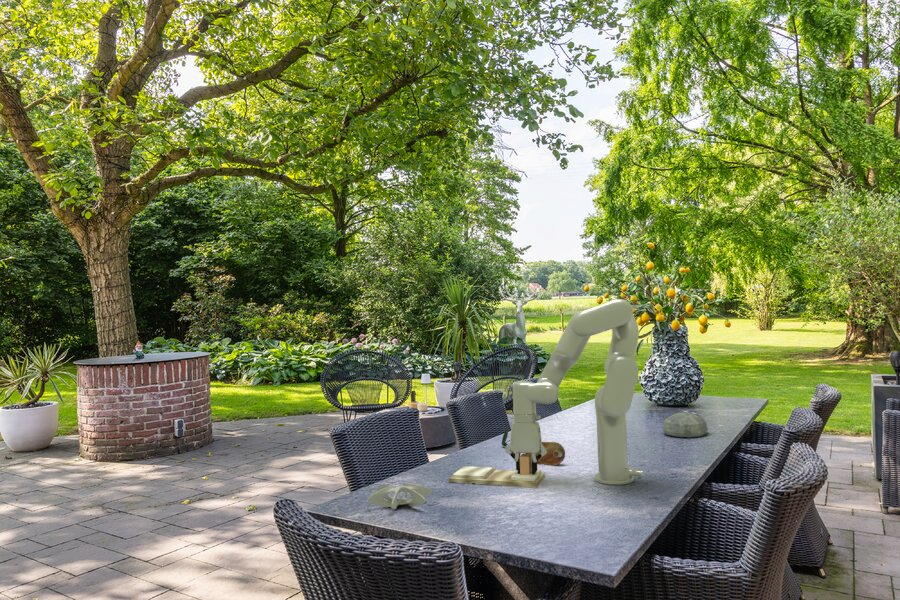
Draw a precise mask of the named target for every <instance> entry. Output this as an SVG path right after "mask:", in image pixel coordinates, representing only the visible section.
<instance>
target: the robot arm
mask: <svg viewBox="0 0 900 600" xmlns="http://www.w3.org/2000/svg"><path fill="white" fill-rule="evenodd" d="M610 330H611V340H610V345H609V348H608V352H607V357H606V359H605V362H604V367H603V369H604V373H605V375H606V376H605V381H604V384H603V385H602V386H600V387H599V388H598V389H597V390H596V392H595V394H594V395H595V396H594V409H595V415H596V416H595V417H596V434H597V435H596V436H597V438H596V439H597V459H598V460H597V461H598V463H597V464H598V473H596V474H594V475H593V479H594V481H595V482H596V483H600V484H604V485H614V486H615V485H618V486H619V485H627V484H630V483H632V482H634V477H643V470H640V469H632V468H630V465H629V460H628V459H629V458H628V437H627V435H628V434H627V417H626V415H627V413H628V412H629V409H630V407H631V405H632V402H633V398H634V394H635V390H636V386H637V382H638V379H639V366H638V363H637V361H636V360H635V357H636V353H637V347H638V343H639V336H640V335H639V334H640V332H639V331H640V329H639V325H638V322H637V320H636V318H635V316H634V309H633V307H632V304H631V303H630V302H628V301H627V300H626V299H622V298H615V299H610V300H608V301H606V302H605V303H603V304H601V305H597V306H594V307H591V308H589V309H585V310H578V311H576V312H575V313H574V314H572V316H571V318H570V319H569V321H568V323H567V325H566V327H565V328H564V330H563V333H562V334H561V336H560V338H559V340H558V342H557V344H556V346H555V348H554V350H553V351H552V354H551V355H550V357H549V359H548V361H547V363H546V365H545V366H544V368H543V370H542V371H541V374H540V375H539V377H538V379H537V381H536V382H533V381H527V380H526V381H525V380H520V381H515V382H514V383H513V384H512V403H513V410H512V411H513V421H512V422H511V428H510V441H509V442H510V443H508V445H507V446H506V449H505V453H506V454H508V455H509V456H510V457H511V458H512V459H513V461H515V471H517V470H518V474H520V456H521V455H522V454H523V453H531V454H532V458H533V462H532V474H533V475H534V474H535V473H536V471H537V469H538V464H537V461H538V460H539V459H540V458H541V457H542V456H544V455H545V454H546V453H547V450H546V449H545V448H544V446H543V445H542V433H541V427H540V426H541V425H540V422H539V420H541V415H540V414H539V415H538V414H537V408H536V407H537V405H536V404H541V405H551V404H554V403H555V402H556V401H557V400H558V398H559V395H560V393H559V392H560V390H559V388H560V386H561V383H562V381H563V380H564V378H565V376H566V375H567V373H568V372H569V371H570V369H571V368H572V367H574V366H575V364H577V362H578V361H579V359H580V358H581V355H582V354H583V351H584V349H585V347H586V346H587V344H588V342H589V340H590V339H591V337H593V336H595V335H598V334H601V333H605V332H607V331H610ZM540 450H541V451H542V452H541V453H539V454H538V455H537V453H538V452H539V451H540Z"/></svg>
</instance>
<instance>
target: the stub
mask: <svg viewBox="0 0 900 600" xmlns="http://www.w3.org/2000/svg"><path fill="white" fill-rule="evenodd" d="M515 471H516V472H515V473H514V474H513V475H512V476H511V480H516V481H535V480H536V479H537V477H538V476H539V475H540V473H541V472H542V469H540V468H537V471H536V473H535V474H534V475H533V474H532V454H526V453H521V454H520V474H518V470H515Z"/></svg>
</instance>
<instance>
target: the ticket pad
mask: <svg viewBox="0 0 900 600" xmlns="http://www.w3.org/2000/svg"><path fill="white" fill-rule="evenodd" d="M516 471H517V470H510V469H509V470H506V469H505V470H504V469H496V467H491V466H489V467H488V466H487V467H485V466H468V465H467V466H466V465H464V466H461V468H459V469H458V470H457V471H456V472H454V473H453V474H452V476H449V478H448V483H449V482H460V483H459V484H463V483H477V484H476V485H480V484H489V485H488V486H498V485H502V486H501V487H515V486H516V487H517V488H518V486H519V488H532V487H534V488H535V489H536V488H538V487H539V485H540V484H541V483H542V481H543V480H544V479H545V477H546V476H545V475H546V472H544V471H541V473H540V475H539V476H538V477H537V479H536V480H535V481H516V480H511V476H512V475H513V474H514V473H515V472H516ZM540 482H541V483H540ZM516 487H515V488H516ZM534 488H533V489H534Z"/></svg>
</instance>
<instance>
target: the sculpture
mask: <svg viewBox="0 0 900 600" xmlns="http://www.w3.org/2000/svg"><path fill="white" fill-rule="evenodd" d="M389 493H390V494H391V493H394V496H393V498H392V496H391V495H390V494H389ZM399 493H403V495H402V497H400V498H398V495H399ZM432 493H433V490H432V489H431V488H430V487H428V486H425V485H421V484H416V483H411V482H406V481H405V482H403V485H402V486H395V487H393V484H391V483H390V484H386V485H381V486H379V487H378V488H376V491H375V492H374V493H373V494H370V496H368V497H367V501H368V503H370V504H371V505H375V506H378V507H384V508H388V507H391V508H390V509H392V510H397V509H398V508H397V507H398V506H400V505H407V504H408V507H409V506H411V507H417V506H421V505H423V504H425V503H426V498H427V497H429V496H430V495H432ZM407 494H409V495H410V496H411V497H410V498H409V497H408V498H407V497H406V496H407Z"/></svg>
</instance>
